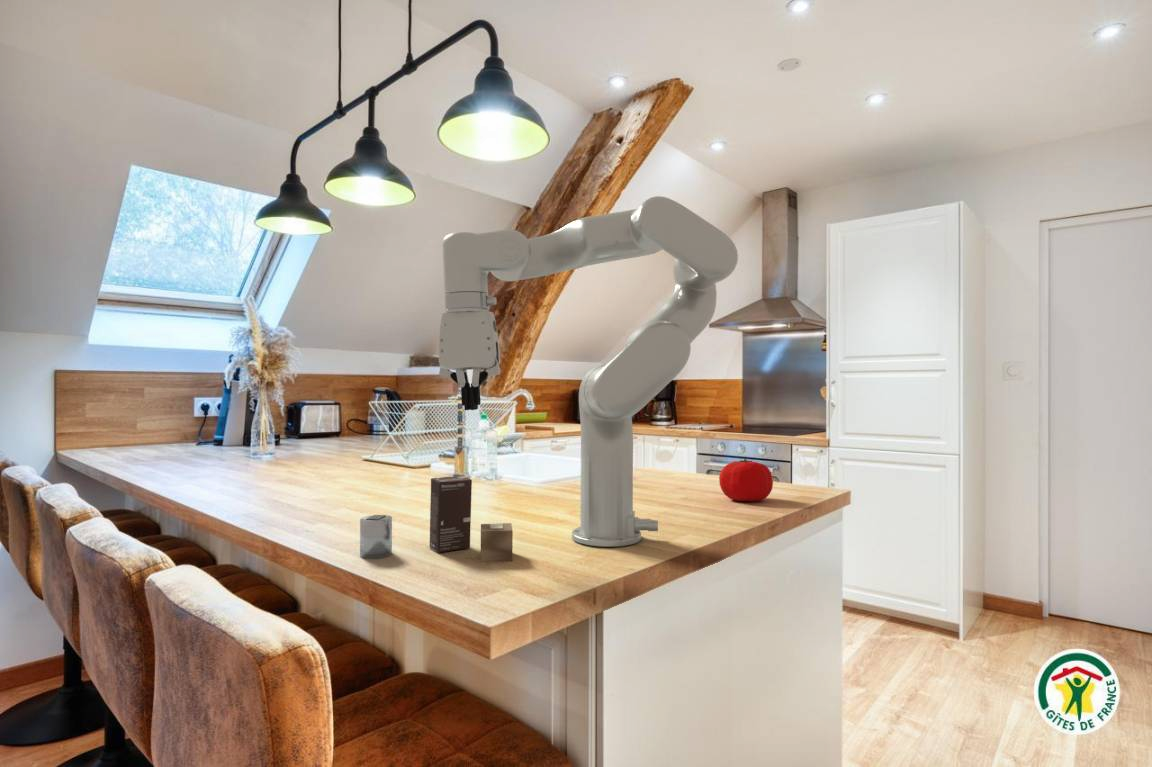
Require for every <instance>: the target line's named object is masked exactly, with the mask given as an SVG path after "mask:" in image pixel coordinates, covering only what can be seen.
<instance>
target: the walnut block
mask: <svg viewBox="0 0 1152 767" xmlns="http://www.w3.org/2000/svg"><path fill="white" fill-rule="evenodd" d="M497 562H498V563H500V562H501V563H502V562H503V563H504V562H513V526H512V522H504V523H481V524H480V563H497Z"/></svg>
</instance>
